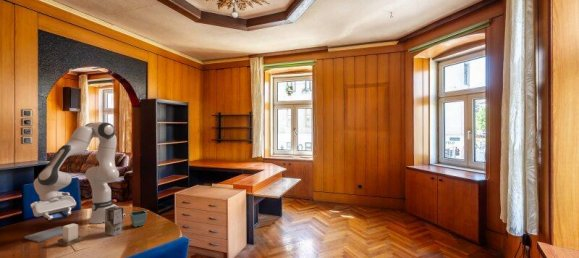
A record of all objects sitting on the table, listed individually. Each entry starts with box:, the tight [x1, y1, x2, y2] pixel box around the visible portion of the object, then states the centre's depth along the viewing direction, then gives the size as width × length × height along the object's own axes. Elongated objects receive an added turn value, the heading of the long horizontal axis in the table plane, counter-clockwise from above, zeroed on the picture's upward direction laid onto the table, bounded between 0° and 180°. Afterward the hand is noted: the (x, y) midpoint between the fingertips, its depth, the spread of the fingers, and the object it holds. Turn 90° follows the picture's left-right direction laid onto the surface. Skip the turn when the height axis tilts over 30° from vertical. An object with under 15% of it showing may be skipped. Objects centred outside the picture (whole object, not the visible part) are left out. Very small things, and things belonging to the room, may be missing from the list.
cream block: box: [62, 223, 79, 242], centre depth 152 cm, size 5×5×10 cm
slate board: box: [24, 225, 63, 243], centre depth 162 cm, size 18×14×1 cm
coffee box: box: [104, 206, 124, 237], centre depth 166 cm, size 9×6×16 cm
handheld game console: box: [46, 208, 73, 222], centre depth 193 cm, size 16×13×9 cm
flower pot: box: [129, 209, 148, 228], centre depth 179 cm, size 9×9×9 cm
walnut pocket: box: [57, 234, 84, 247], centre depth 152 cm, size 8×8×2 cm
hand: (60, 216), depth 155 cm, fingers open, 8 cm apart
